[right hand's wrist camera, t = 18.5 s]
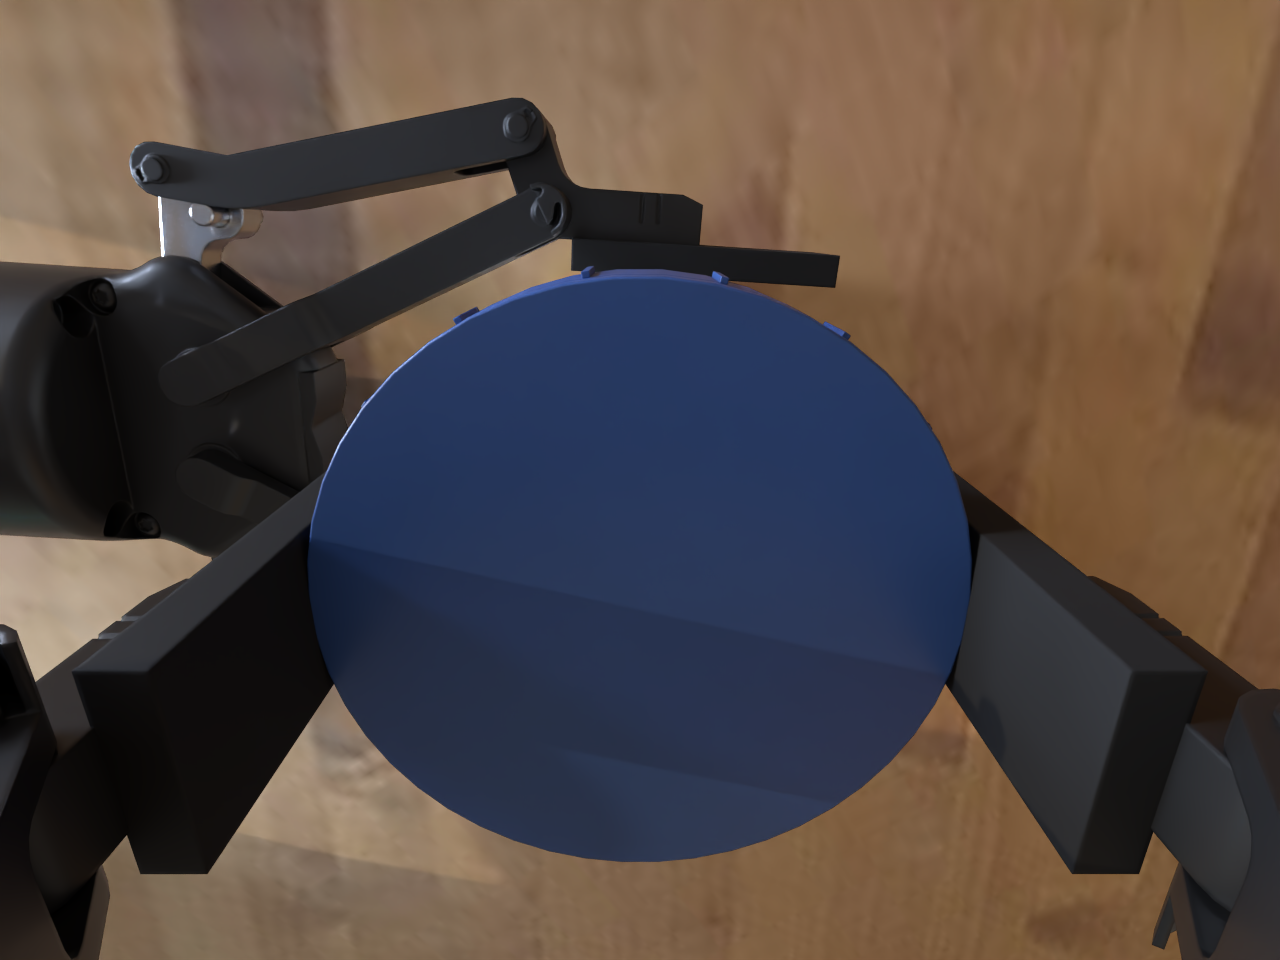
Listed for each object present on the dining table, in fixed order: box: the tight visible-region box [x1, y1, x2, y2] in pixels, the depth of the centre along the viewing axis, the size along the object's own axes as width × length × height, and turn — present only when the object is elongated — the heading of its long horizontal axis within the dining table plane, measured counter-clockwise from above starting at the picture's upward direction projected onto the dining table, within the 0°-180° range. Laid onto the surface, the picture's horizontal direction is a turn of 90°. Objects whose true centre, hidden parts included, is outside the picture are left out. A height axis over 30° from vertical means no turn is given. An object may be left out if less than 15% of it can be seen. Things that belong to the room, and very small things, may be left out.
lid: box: [307, 266, 972, 862], centre depth 11 cm, size 10×10×2 cm
